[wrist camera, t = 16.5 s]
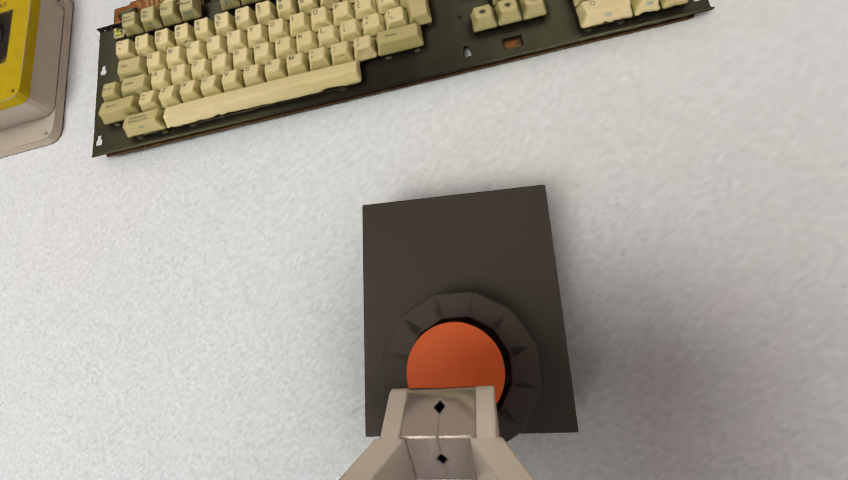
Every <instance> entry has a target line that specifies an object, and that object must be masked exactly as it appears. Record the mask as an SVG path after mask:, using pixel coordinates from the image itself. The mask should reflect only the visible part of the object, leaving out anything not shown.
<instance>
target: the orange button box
mask: <svg viewBox="0 0 848 480" xmlns="http://www.w3.org/2000/svg"><path fill="white" fill-rule="evenodd" d="M363 279H364V351H365V423H366V436H367V437H374V436H381V432H382V427H383V422H384V417H385V413H386V408H387V403H388V398H389V394H390V392H391V390H392V389H401V388H409V387H408V382H407V362H408V358H409V354H410V352H411V350H412V348H413V346H414V344H415V343H416V341H417V340H418V339H419V338H420V336H421V335H422V334H423V333H425V332H426V331H427V330H429V329H430V328H432V327H434V326H436V325H439V324H442V323H447V322H462V323H467V324H470V325H473V326H475V327H477V328H479V329H480V330H482V331H483V332H485V333H486V334H487V335H488V336H489V337H490V338H491V339H492V340H493V341H494V342H495V344H496V345H497V347H498V348H499V350H500V352H501V355H502V358H503V361H504V367H505V383H504V388H503V391H502V394H501V397H500V399H499V401H498V402H497V404H496V406H497V415H498V425H499V436H500V437H503V439H504V440H505V441H506V442H507V441H509V440H510V439H512V438H513V437H515V436H516V435H518V434H520V433H569V432H578V423H577V416H576V409H575V401H574V394H573V387H572V379H571V372H570V365H569V358H568V350H567V343H566V336H565V328H564V321H563V314H562V306H561V299H560V292H559V284H558V277H557V270H556V262H555V255H554V248H553V240H552V233H551V226H550V218H549V211H548V204H547V196H546V189H545V185H537V186H529V187H520V188H511V189H502V190H494V191H485V192H476V193H467V194H458V195H450V196H441V197H432V198H423V199H415V200H406V201H397V202H388V203H379V204H371V205H363Z"/></svg>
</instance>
